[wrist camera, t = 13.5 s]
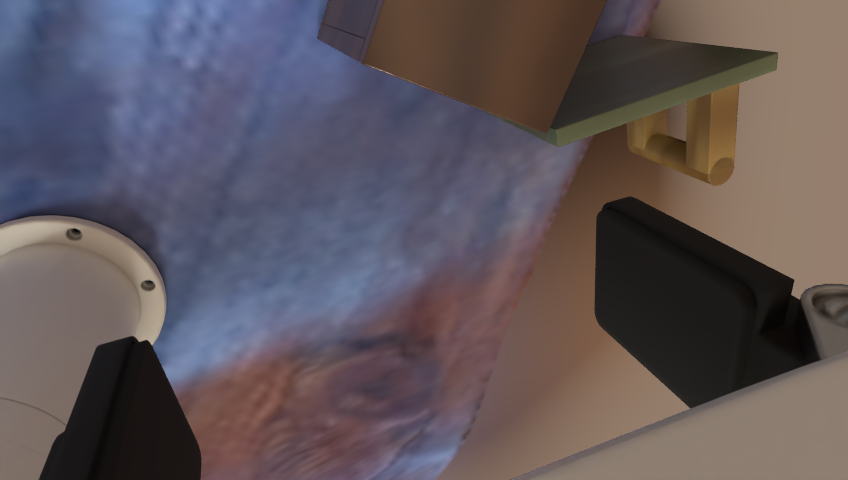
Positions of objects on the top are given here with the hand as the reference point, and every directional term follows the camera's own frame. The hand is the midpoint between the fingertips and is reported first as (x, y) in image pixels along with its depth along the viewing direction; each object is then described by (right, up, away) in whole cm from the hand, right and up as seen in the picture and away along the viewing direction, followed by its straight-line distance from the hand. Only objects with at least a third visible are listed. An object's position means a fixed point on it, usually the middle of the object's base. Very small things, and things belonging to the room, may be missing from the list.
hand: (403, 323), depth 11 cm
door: (+10, +12, +31) cm, 35 cm away
